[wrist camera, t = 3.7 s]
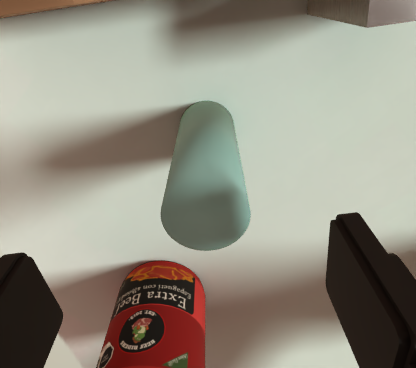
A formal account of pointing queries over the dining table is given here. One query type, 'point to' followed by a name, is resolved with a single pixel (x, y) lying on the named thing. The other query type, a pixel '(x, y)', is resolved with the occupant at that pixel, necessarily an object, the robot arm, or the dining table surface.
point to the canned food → (157, 320)
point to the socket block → (38, 6)
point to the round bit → (206, 181)
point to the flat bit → (364, 11)
